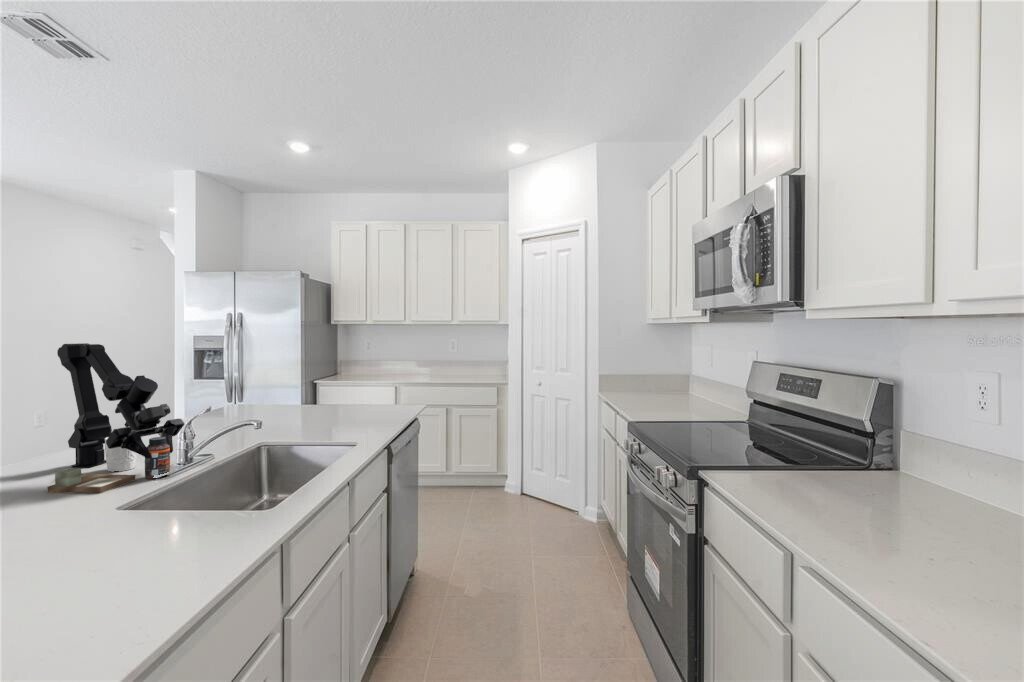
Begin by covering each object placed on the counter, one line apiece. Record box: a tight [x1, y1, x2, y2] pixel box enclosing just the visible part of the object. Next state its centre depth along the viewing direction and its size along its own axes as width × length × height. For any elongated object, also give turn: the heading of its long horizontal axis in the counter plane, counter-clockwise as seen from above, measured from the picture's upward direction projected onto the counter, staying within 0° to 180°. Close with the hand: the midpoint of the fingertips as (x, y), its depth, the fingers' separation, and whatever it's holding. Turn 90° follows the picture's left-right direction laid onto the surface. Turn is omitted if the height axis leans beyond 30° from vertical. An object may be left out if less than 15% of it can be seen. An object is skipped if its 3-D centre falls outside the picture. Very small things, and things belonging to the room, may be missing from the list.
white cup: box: [104, 437, 138, 473], centre depth 146 cm, size 8×8×10 cm
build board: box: [46, 467, 136, 494], centre depth 130 cm, size 14×11×5 cm
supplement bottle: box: [144, 436, 171, 480], centre depth 139 cm, size 6×6×11 cm
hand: (160, 454), depth 138 cm, fingers closed on supplement bottle, 6 cm apart
